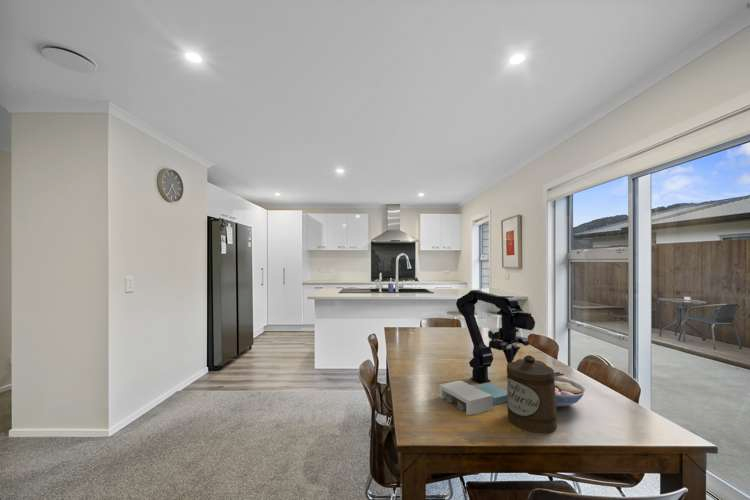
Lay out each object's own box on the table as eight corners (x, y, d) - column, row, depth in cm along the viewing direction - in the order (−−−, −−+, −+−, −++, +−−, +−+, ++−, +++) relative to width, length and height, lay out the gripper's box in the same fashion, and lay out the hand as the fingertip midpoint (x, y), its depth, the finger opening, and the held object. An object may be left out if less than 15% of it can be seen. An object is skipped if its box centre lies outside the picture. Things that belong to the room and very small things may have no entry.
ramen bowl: (548, 421, 105) (548, 396, 106) (503, 394, 127) (503, 374, 128) (604, 412, 112) (603, 389, 112) (553, 388, 134) (552, 369, 134)
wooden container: (498, 415, 109) (497, 352, 110) (530, 409, 114) (528, 348, 116) (533, 437, 95) (531, 364, 97) (567, 428, 100) (565, 359, 102)
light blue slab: (490, 389, 133) (490, 383, 133) (513, 400, 122) (513, 393, 122) (472, 393, 129) (472, 387, 129) (495, 404, 118) (494, 398, 118)
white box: (460, 392, 129) (460, 380, 130) (492, 409, 114) (492, 395, 114) (439, 397, 125) (439, 384, 125) (469, 415, 109) (469, 400, 109)
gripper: (507, 321, 143) (507, 355, 142) (478, 325, 134) (478, 361, 133) (529, 325, 133) (530, 362, 132) (499, 329, 124) (500, 369, 123)
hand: (509, 363), depth 130 cm, fingers closed
